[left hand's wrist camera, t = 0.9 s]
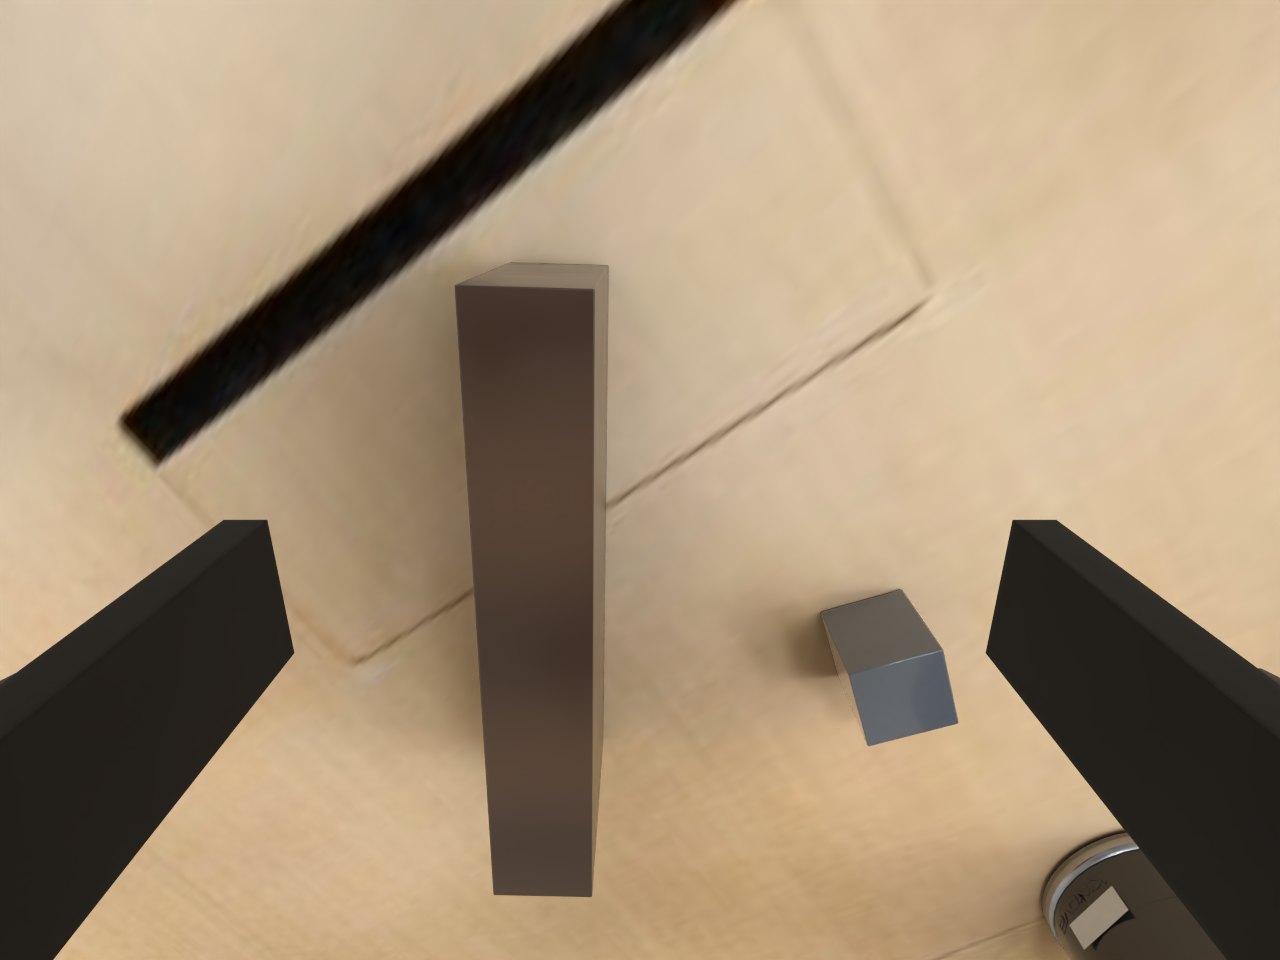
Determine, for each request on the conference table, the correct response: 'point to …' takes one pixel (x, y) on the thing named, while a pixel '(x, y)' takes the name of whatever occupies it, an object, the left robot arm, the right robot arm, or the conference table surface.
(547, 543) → the walnut bar
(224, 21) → the conference table surface
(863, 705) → the grey block
